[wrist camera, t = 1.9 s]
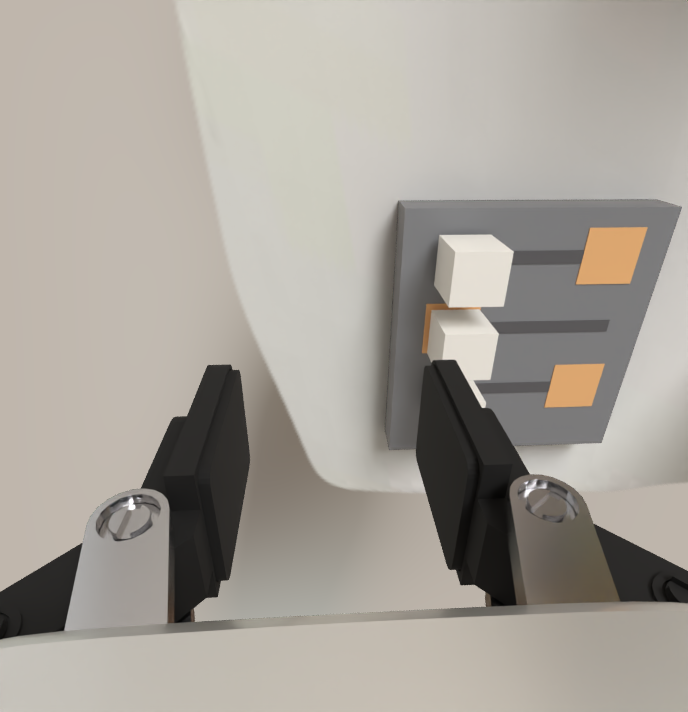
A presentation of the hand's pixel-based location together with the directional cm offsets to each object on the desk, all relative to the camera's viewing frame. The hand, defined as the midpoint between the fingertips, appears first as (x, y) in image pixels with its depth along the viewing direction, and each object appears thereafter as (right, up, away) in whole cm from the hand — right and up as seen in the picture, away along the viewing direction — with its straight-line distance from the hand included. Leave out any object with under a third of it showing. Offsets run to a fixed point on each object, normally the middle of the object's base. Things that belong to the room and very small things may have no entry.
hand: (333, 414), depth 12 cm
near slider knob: (+6, +6, +12) cm, 15 cm away
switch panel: (+10, +4, +16) cm, 19 cm away
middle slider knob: (+6, +3, +14) cm, 15 cm away
